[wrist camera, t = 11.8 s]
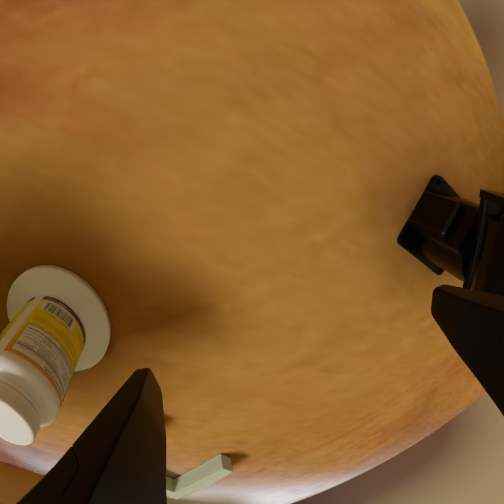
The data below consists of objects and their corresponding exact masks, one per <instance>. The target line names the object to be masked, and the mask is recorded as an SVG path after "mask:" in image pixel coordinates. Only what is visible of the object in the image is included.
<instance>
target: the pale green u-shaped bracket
mask: <svg viewBox="0 0 504 504" xmlns="http://www.w3.org/2000/svg"><path fill="white" fill-rule="evenodd" d="M232 472H233V469H232V463H231V458H230V457H228V456H225V455H223V454H221V453H220V454H219V455H217V456H215V457H213V458H212V459H210V460H208V461H206V462H205V463H203V464H201V465H199V466H198V467H196V468H194V469H192V470H190V471H188V472H186V473H185V474H183V475H181V476H179V477H177V478H175V479H172V478H170V477H167V476H166V495H167V496H168V497H171V498H173V499H176V500H177V499H179V498H181V497H184V496H186V495H188V494H190V493H192V492H195V491H197V490H199V489H201V488H203V487H205V486H207V485H209V484H211V483H213V482H215V481H217V480H219V479H221V478H223V477H225V476H227V475H229V474H231V473H232Z"/></svg>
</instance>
